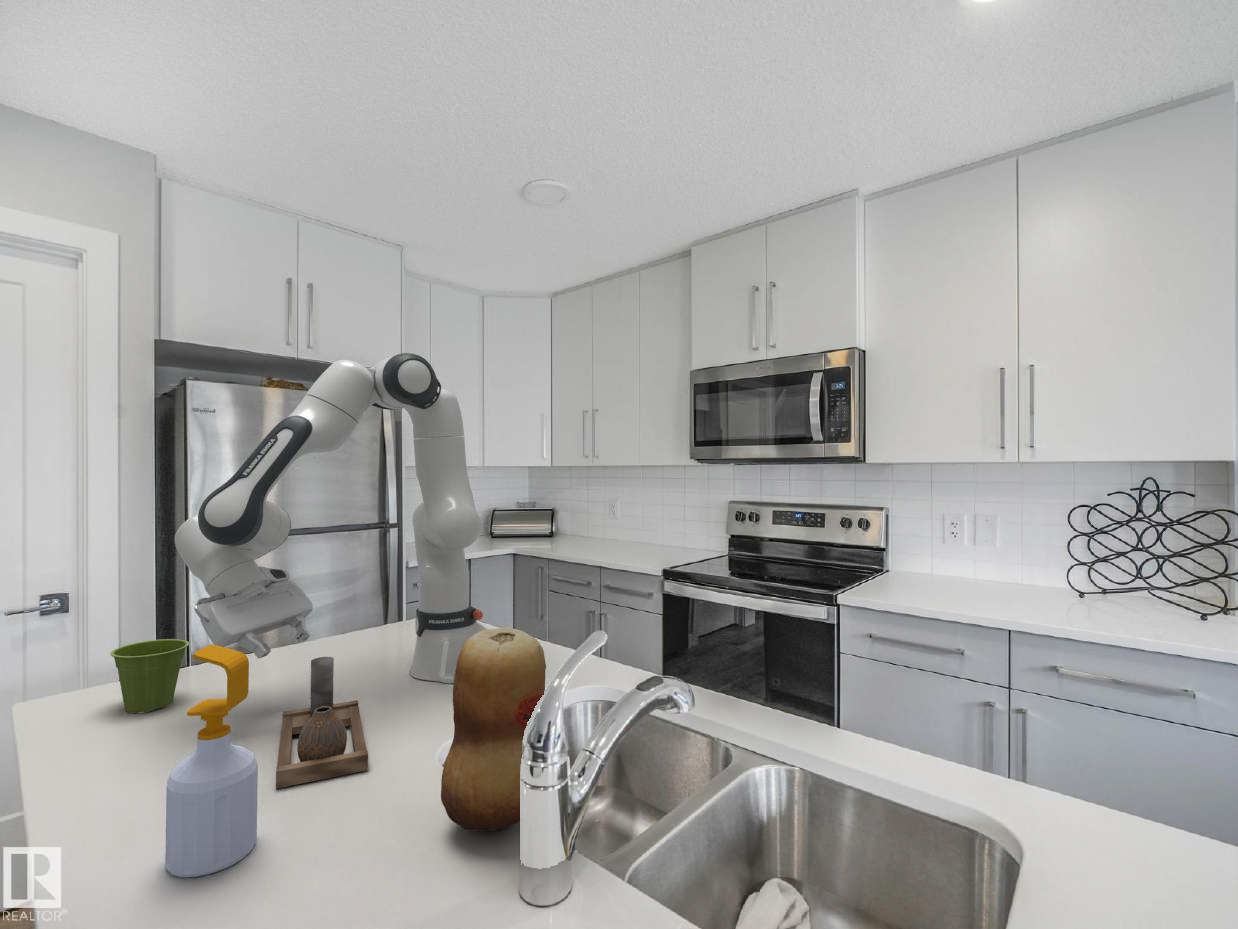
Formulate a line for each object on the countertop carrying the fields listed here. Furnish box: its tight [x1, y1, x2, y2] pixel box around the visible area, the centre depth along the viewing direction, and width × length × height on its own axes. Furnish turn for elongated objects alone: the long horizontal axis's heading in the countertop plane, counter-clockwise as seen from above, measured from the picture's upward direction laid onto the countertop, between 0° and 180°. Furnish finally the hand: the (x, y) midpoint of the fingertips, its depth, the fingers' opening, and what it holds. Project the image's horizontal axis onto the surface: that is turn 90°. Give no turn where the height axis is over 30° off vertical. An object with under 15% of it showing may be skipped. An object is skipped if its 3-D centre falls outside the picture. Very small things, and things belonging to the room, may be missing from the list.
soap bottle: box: [164, 644, 259, 878], centre depth 72 cm, size 9×9×25 cm
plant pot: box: [110, 638, 190, 714], centre depth 114 cm, size 12×12×11 cm
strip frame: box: [275, 656, 369, 790], centre depth 99 cm, size 12×23×12 cm, turn 27°
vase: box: [296, 706, 348, 762], centre depth 93 cm, size 7×7×9 cm
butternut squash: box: [440, 626, 547, 832], centre depth 79 cm, size 14×13×25 cm
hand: (286, 647), depth 108 cm, fingers open, 8 cm apart
